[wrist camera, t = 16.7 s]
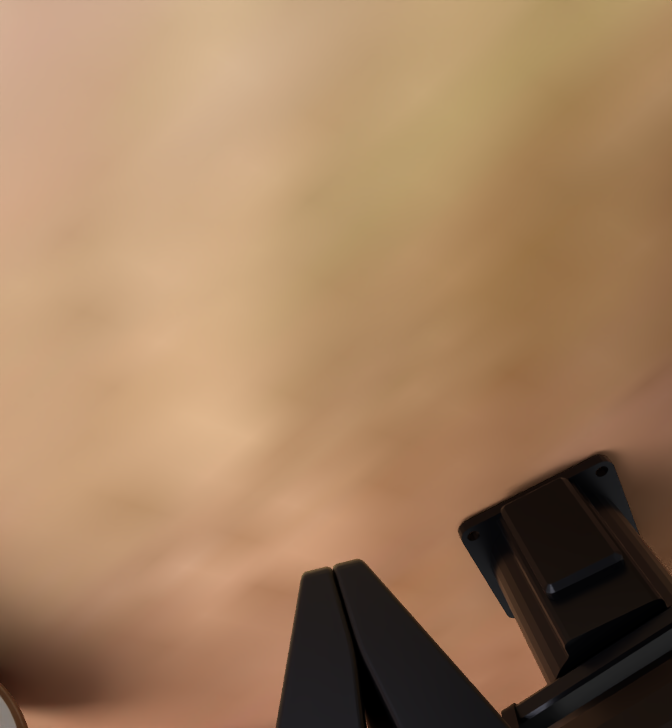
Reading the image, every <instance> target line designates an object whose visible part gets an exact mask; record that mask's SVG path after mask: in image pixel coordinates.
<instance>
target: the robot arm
mask: <svg viewBox="0 0 672 728" xmlns="http://www.w3.org/2000/svg"><path fill="white" fill-rule="evenodd" d="M600 467H601V468H600ZM597 469H598V470H597ZM473 531H474V532H473ZM471 532H473V533H471ZM458 533H459V536H460V538H461V540H462V542H463V544H464V545H465V547H466V549H467V550H468V552H469V554H470V555H471V557H472V558H473V560H474V562H475V563H476V565H477V567H478V568H479V570H480V572H481V573H482V575H483V576H484V578H485V580H486V581H487V583H488V585H489V586H490V588H491V589H492V591H493V593H494V594H495V596H496V598H497V599H498V601H499V603H500V604H501V606H502V607H503V609H504V611H505V612H506V614H507V615H508V616H509V617H511V618H515V619H516V621H517V623H518V625H519V627H520V629H521V631H522V633H523V635H524V637H525V639H526V642H527V644H528V646H529V648H530V650H531V652H532V654H533V656H534V658H535V660H536V662H537V664H538V666H539V668H540V670H541V672H542V674H543V676H544V678H545V681H546V683H547V686H545V687H543V688H542V689H540V690H539V691H537V692H536V693H534V694H533V695H531V696H530V697H528V698H526V699H525V700H523V701H522V702H520V703H519V704H515V703H513V704H512V705H510V706H509V707H507V708H506V709H504V710H502V711H501V714H502V717H501V716H500V714H499V713H498V712H497V711H496V710H495V709H494V708H493V706H492V705H491V704H490V703H489V702H488V701H487V700H486V699H485V697H484V696H483V695H482V694H481V693H480V692H479V691H478V690H477V688H476V687H475V686H474V685H473V684H472V683H471V682H470V681H469V679H468V678H467V677H466V676H465V675H464V674H463V673H462V671H461V670H460V669H459V668H458V667H457V666H456V665H455V664H454V662H453V661H452V660H451V659H450V658H449V657H448V656H447V655H446V653H445V652H444V651H443V650H442V649H441V648H440V647H439V646H438V644H437V643H436V642H435V641H434V640H433V639H432V638H431V636H430V635H429V634H428V633H427V632H426V631H425V630H424V629H423V627H422V626H421V625H420V624H419V623H418V622H417V621H416V620H415V618H414V617H413V616H412V615H411V614H410V613H409V612H408V611H407V609H406V608H405V607H404V606H403V605H402V604H401V603H400V601H399V600H398V599H397V598H396V597H395V596H394V595H393V594H392V592H391V591H390V590H389V589H388V588H387V587H386V586H385V585H384V583H383V582H382V581H381V580H380V579H379V578H378V577H377V576H376V574H375V573H374V572H373V571H372V570H371V569H370V568H369V566H368V565H367V564H366V563H365V562H364V561H362V560H360V559H354V560H350V561H346V562H343V563H339V564H336V565H335V566H334V567H333V571H332V569H331V568H330V567H323V568H319V569H315V570H311V571H307V572H305V573H304V574H303V575H302V577H301V582H300V587H299V593H298V599H297V605H296V611H295V617H294V623H293V629H292V635H291V641H290V647H289V653H288V659H287V664H286V670H285V676H284V682H283V688H282V694H281V700H280V706H279V712H278V718H277V724H276V728H367V726H368V728H672V576H671V575H670V573H669V572H668V571H667V569H666V568H665V567H664V566H663V564H662V563H661V562H660V561H659V559H658V558H657V557H656V556H655V554H654V553H653V552H652V550H651V549H650V548H649V547H648V545H647V544H646V543H645V542H644V540H643V539H642V538H641V537H640V535H639V532H638V530H637V527H636V524H635V522H634V519H633V516H632V513H631V511H630V508H629V505H628V503H627V500H626V497H625V494H624V492H623V489H622V486H621V484H620V481H619V478H618V475H617V473H616V470H615V467H614V465H613V464H612V462H611V461H610V460H609V459H608V458H607V457H606V456H604V455H597V456H594V457H592V458H590V459H588V460H586V461H584V462H582V463H580V464H578V465H576V466H574V467H572V468H570V469H568V470H566V471H564V472H562V473H560V474H558V475H556V476H554V477H552V478H550V479H548V480H546V481H544V482H542V483H540V484H538V485H536V486H534V487H532V488H530V489H528V490H526V491H524V492H522V493H520V494H518V495H516V496H514V497H513V498H511V499H509V500H507V501H505V502H503V503H501V504H499V505H497V506H495V507H493V508H491V509H489V510H487V511H485V512H483V513H481V514H479V515H477V516H475V517H473V518H471V519H469V520H467V521H465V522H464V523H462V524H461V525H460V527H459V529H458ZM366 722H367V725H366Z"/></svg>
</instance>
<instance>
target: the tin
mask: <svg viewBox="0 0 672 728" xmlns="http://www.w3.org/2000/svg"><path fill="white" fill-rule="evenodd" d="M0 728H28V726H27V723H26V721H25V719H24V716H23V714H22V712H21V710H20V708H19V706H18V705H17V703H16V701H15V700H14V698H13V697H12V695H11V694H10V693H9V691H8V690H7V689H6V688H5V687H4V686H3V685H2V684H1V683H0Z"/></svg>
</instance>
